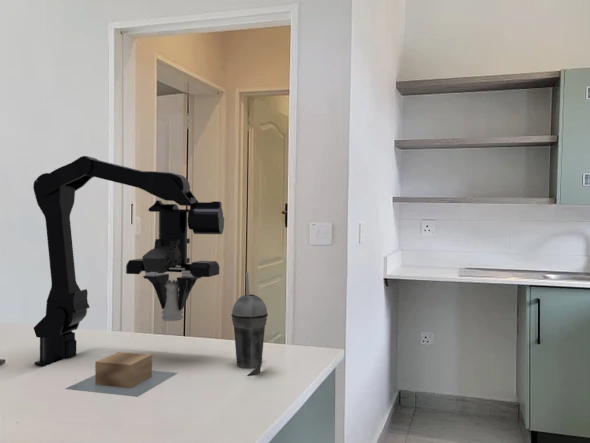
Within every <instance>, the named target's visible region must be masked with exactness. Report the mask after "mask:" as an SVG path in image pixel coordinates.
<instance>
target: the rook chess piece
mask: <svg viewBox="0 0 590 443" xmlns="http://www.w3.org/2000/svg"><path fill="white" fill-rule="evenodd" d="M165 287H166V288H167V292H166V294H167V298H166V305H165V307H164V309H162V311H161V314H162V316H161V319H162V321H166V322H177V321H178V322H179V321H181V320H182V319H183V318H184V316H183V315H182V314H183V313H184V311H183V309H182V310H179V305H178V299H179V283H178V281H177V279H172V280H171V279H169V280H168V281H166V284H165Z"/></svg>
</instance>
